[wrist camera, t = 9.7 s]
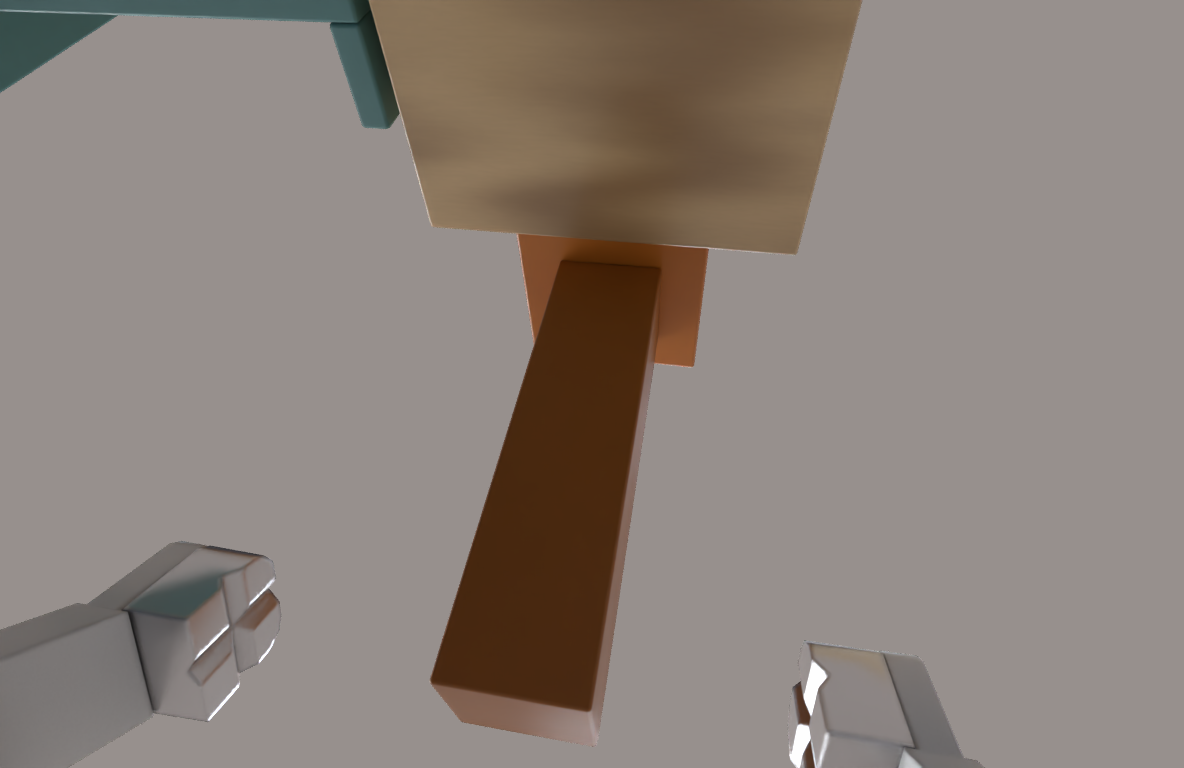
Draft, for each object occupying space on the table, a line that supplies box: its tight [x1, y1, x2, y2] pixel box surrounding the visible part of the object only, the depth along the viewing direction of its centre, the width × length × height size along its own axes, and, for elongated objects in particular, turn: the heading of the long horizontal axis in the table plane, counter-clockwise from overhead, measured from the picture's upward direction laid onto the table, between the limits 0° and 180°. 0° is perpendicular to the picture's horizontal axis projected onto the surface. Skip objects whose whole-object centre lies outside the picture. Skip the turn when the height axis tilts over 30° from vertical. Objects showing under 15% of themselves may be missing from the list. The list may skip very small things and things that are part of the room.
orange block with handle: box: [430, 234, 709, 747], centre depth 17 cm, size 22×4×4 cm, turn 10°
